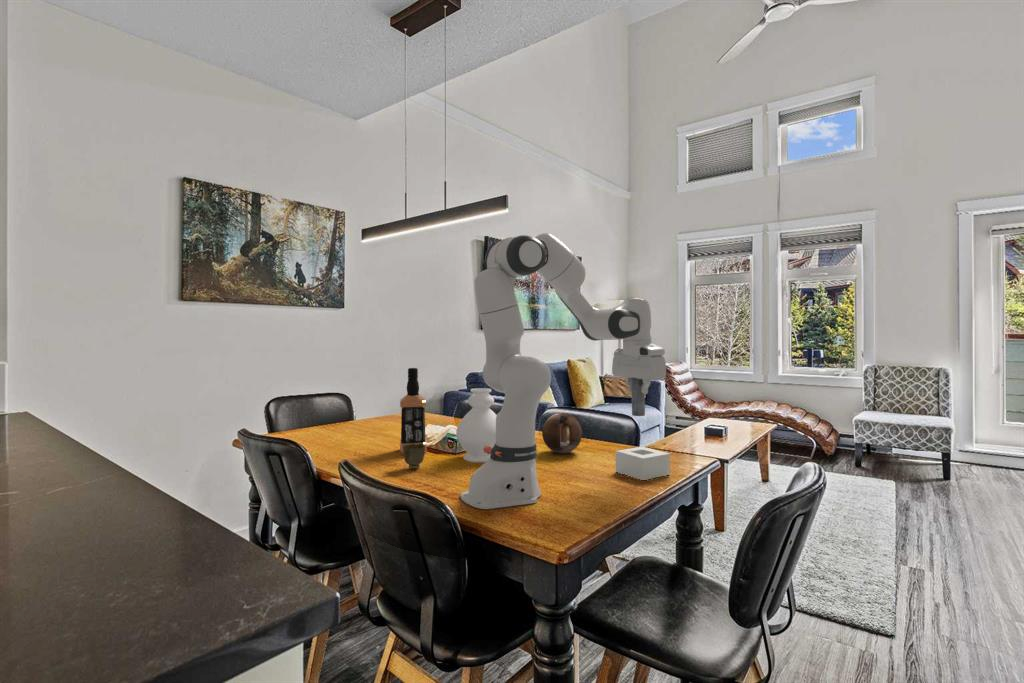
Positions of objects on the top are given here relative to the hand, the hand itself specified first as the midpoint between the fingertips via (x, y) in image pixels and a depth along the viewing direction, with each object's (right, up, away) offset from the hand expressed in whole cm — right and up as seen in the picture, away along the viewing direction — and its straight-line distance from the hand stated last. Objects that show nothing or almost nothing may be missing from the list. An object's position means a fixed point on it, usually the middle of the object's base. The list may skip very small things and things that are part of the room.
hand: (638, 392), depth 164 cm
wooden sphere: (-21, -26, +32) cm, 46 cm away
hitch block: (+2, -26, +3) cm, 27 cm away
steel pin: (0, -7, 0) cm, 7 cm away
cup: (-73, -27, +9) cm, 78 cm away
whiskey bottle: (-78, -26, +34) cm, 89 cm away
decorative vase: (-51, -26, +24) cm, 62 cm away
